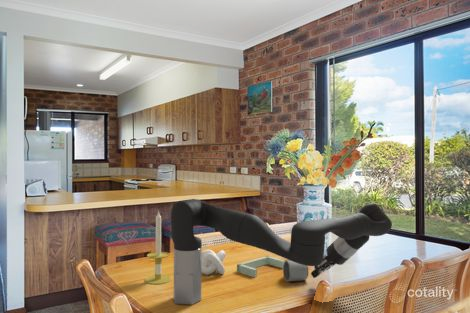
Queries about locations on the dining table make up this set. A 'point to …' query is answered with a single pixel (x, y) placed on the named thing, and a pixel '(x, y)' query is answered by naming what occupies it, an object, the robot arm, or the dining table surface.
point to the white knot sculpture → (212, 262)
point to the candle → (158, 257)
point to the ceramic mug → (294, 271)
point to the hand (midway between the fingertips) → (313, 275)
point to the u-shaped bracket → (250, 266)
